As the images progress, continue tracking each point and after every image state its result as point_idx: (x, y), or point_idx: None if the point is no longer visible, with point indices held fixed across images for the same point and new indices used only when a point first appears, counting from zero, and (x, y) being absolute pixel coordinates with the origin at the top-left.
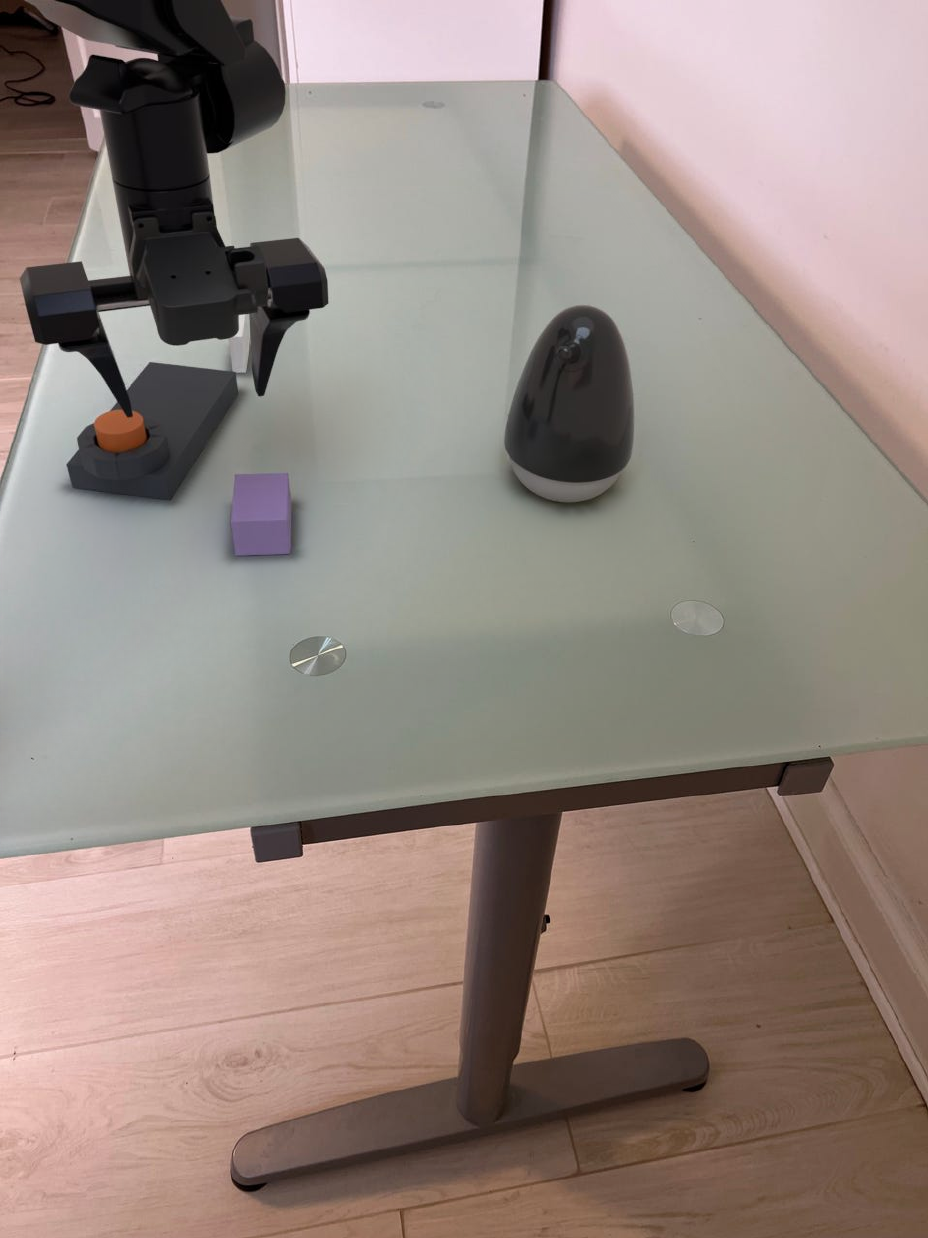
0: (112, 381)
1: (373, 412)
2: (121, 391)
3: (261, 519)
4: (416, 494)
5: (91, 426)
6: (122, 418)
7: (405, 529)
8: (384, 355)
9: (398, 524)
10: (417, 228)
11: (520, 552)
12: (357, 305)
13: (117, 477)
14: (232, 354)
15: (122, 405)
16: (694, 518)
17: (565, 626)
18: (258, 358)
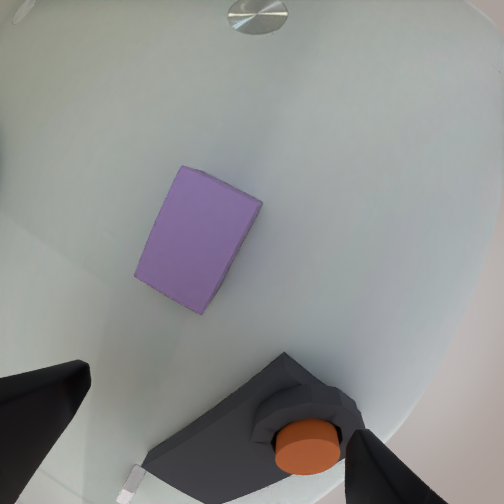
0: (418, 490)
1: (46, 356)
2: (394, 470)
3: (214, 183)
4: (46, 211)
5: None
6: (300, 461)
7: (76, 157)
8: None
9: (77, 168)
10: None
11: (33, 89)
12: (50, 457)
13: (339, 391)
14: (138, 481)
15: (384, 446)
16: None
17: (71, 4)
18: (28, 407)
